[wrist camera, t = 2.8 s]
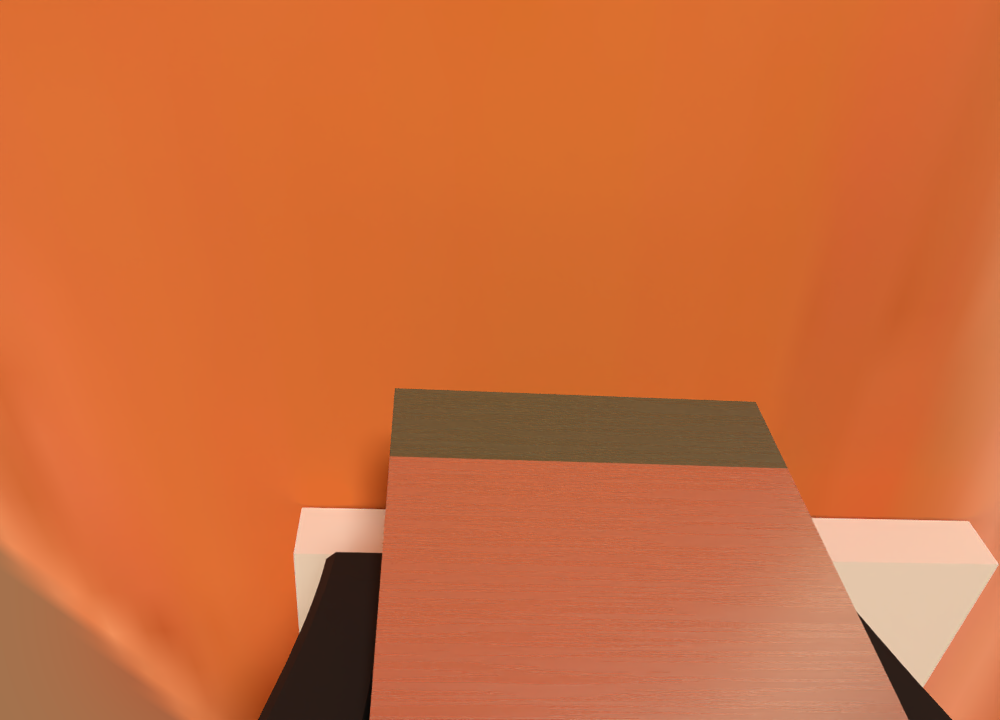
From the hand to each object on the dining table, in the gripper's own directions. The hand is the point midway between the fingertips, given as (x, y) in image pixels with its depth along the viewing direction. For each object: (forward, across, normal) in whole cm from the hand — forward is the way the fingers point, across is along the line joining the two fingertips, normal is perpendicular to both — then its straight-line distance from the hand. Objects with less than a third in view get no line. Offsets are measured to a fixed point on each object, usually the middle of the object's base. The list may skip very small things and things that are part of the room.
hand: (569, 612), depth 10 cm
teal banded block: (+2, 0, 0) cm, 2 cm away
